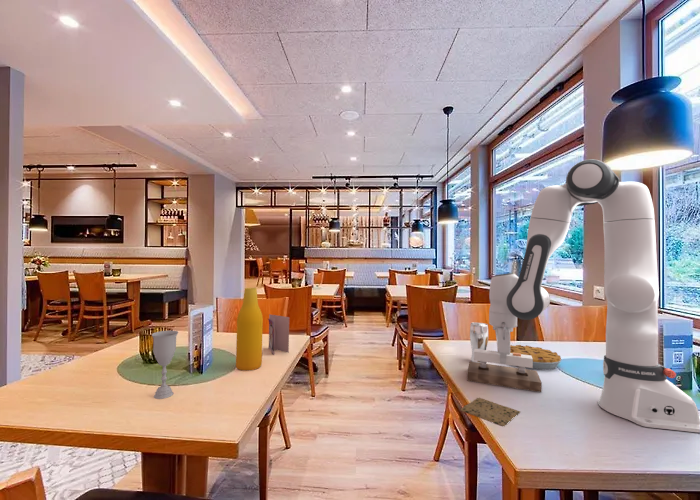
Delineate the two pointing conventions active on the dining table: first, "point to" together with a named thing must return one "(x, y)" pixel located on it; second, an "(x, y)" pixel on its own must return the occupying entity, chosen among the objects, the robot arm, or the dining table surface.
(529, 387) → the socket board
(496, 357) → the power strip
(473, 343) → the beer glass
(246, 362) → the beer bottle
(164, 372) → the chalice
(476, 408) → the seeded crispbread
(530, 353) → the pie
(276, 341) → the greeting card
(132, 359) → the dining table surface
